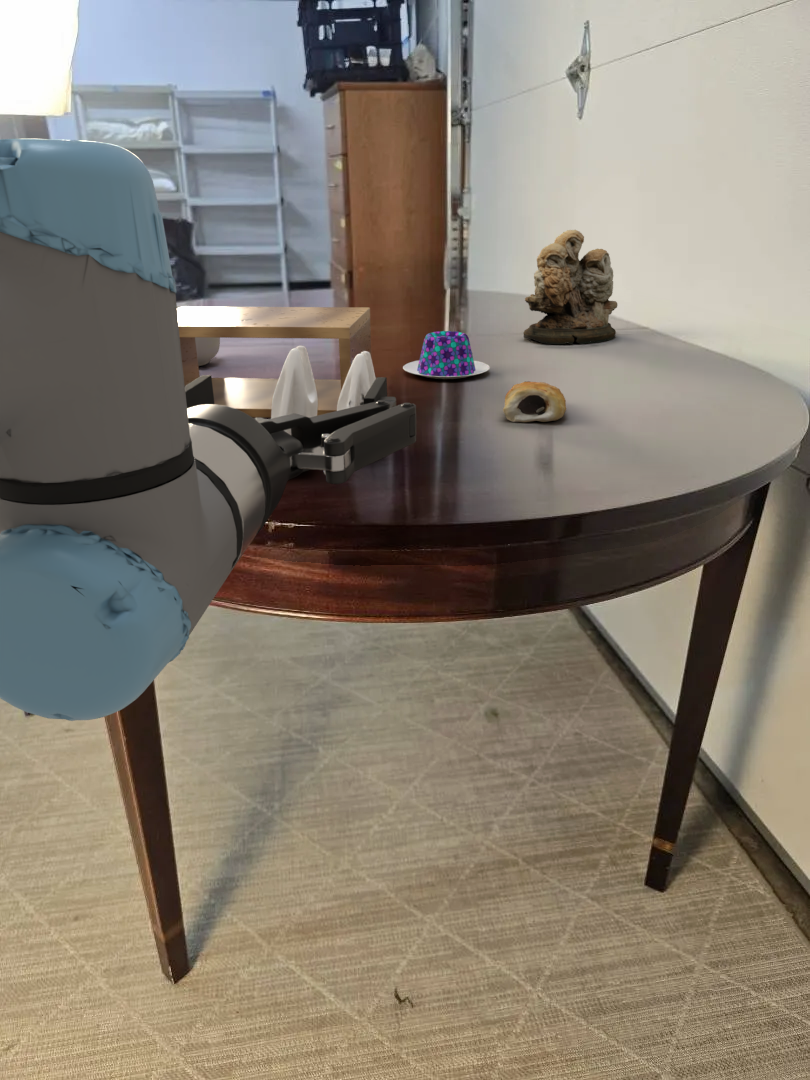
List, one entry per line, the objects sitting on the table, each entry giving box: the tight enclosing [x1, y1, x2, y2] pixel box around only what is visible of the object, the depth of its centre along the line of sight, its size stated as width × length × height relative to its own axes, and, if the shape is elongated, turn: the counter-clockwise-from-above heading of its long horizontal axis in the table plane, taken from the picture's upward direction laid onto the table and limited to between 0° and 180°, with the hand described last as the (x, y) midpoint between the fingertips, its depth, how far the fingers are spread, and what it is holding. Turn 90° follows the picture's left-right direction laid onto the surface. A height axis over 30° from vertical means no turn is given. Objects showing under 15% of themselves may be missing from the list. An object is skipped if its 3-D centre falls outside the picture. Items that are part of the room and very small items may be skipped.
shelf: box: [177, 305, 372, 419], centre depth 92 cm, size 24×15×10 cm, turn 84°
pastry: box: [502, 380, 567, 423], centre depth 87 cm, size 9×7×4 cm
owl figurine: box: [523, 229, 618, 345], centre depth 127 cm, size 18×12×17 cm, turn 120°
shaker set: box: [270, 345, 377, 435], centre depth 69 cm, size 12×4×11 cm, turn 126°
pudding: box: [402, 330, 491, 380], centre depth 106 cm, size 12×12×5 cm
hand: (294, 393), depth 59 cm, fingers open, 13 cm apart
